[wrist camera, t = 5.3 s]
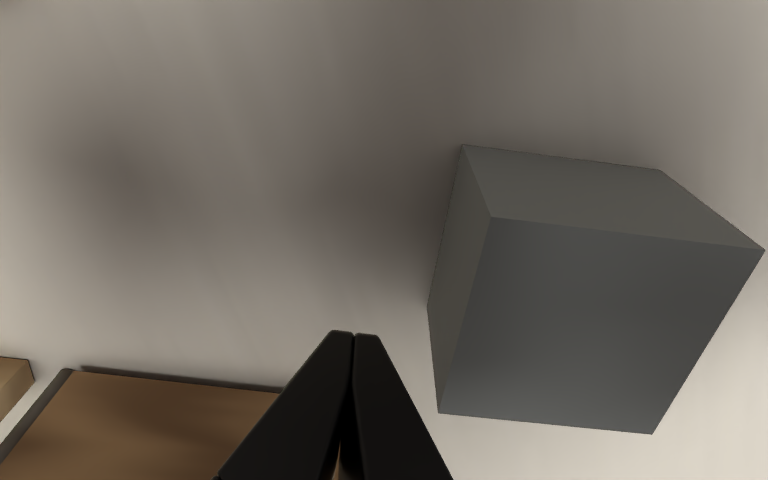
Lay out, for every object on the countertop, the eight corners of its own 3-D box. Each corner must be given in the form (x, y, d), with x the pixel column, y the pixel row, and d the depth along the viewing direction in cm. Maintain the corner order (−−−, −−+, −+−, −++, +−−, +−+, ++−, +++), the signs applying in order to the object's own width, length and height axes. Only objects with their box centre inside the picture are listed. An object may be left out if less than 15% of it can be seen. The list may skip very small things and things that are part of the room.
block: (589, 322, 14) (652, 434, 11) (426, 304, 14) (438, 413, 11) (657, 167, 12) (765, 250, 9) (461, 143, 12) (491, 216, 8)
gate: (80, 394, 16) (-14, 524, 12) (73, 370, 15) (-27, 498, 12) (380, 427, 16) (377, 560, 13) (385, 405, 16) (382, 537, 12)
